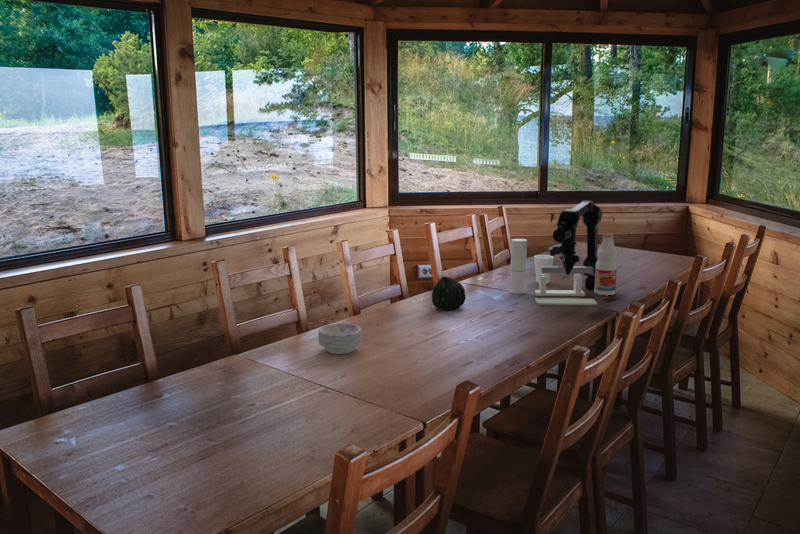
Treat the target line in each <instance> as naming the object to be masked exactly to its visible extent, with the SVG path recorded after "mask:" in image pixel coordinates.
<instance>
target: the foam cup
mask: <svg viewBox="0 0 800 534" xmlns="http://www.w3.org/2000/svg"><path fill="white" fill-rule="evenodd" d="M533 262H534V270H535V281H536V283H537V282H538V283H537V284H539V275H540V274H545V277H547V283H546V284H549V283H550V281H551V280H550V279H551V275H552V273H542V272H541V266H553V263H554V256H551V255H550V254H536V255H534V256H533Z"/></svg>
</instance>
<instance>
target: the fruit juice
mask: <svg viewBox="0 0 800 534" xmlns="http://www.w3.org/2000/svg"><path fill="white" fill-rule="evenodd" d="M601 236H602V241H601V244H600V246H599V247H598V250H597V262H596V267H595V285H594V289H593V292H594V294H595V295H597V294H598V296H602V295H605V296H604V297H609V296H608V295H612V296H615V294H616V288H617V287H616V285H617V272H618V271H617V270H618V262H617V258H618V251H617V249H616V246H615V243H614V238H615V235H614V234H613V233H603V234H602V235H601Z"/></svg>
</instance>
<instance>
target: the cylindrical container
mask: <svg viewBox="0 0 800 534" xmlns="http://www.w3.org/2000/svg"><path fill="white" fill-rule="evenodd" d="M510 240H511V242H510V244H511V245H510V246H511V247H510V275H509V276H510V280H509V292H510V294H515V295H516V294H517V295H521V294H522V293H523V294H525V293H526V281H527V278H526V277H527V255H528V254H527V252H528V250H527V249H528V239H525V238H511V239H510ZM523 294H522V295H523Z"/></svg>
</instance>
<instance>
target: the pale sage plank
mask: <svg viewBox="0 0 800 534" xmlns="http://www.w3.org/2000/svg"><path fill="white" fill-rule="evenodd" d="M534 301H535V303H536V305H538V306H598V305H599V304H598V302H597V301H596V300H595V299H594V298H572V297H571V298H566V297H565V298H561V297H559V298H556V297H554V298H552V297H551V298H549V297H548V298H547V297H546V298H545V297H535V298H534Z"/></svg>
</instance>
